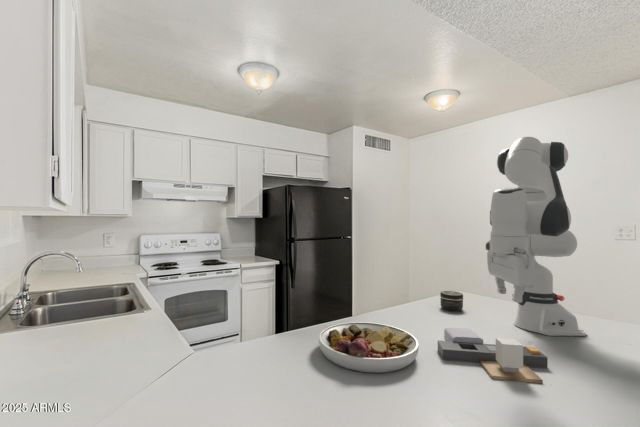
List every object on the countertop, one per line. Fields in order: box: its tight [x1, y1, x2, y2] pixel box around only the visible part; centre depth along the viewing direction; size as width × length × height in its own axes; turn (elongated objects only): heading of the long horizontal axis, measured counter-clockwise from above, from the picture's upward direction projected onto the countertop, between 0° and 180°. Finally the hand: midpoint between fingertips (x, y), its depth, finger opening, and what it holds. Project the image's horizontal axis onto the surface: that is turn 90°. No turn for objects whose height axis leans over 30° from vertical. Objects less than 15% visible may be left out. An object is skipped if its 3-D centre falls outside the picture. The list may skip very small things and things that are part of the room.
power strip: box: [437, 340, 548, 369], centre depth 93 cm, size 28×7×4 cm, turn 81°
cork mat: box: [479, 361, 544, 384], centre depth 84 cm, size 12×9×1 cm
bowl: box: [318, 321, 420, 374], centre depth 95 cm, size 30×30×8 cm
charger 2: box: [495, 337, 524, 373], centre depth 84 cm, size 5×4×8 cm
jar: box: [439, 290, 464, 312], centre depth 147 cm, size 10×10×8 cm
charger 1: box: [443, 327, 484, 344], centre depth 105 cm, size 5×9×15 cm
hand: (509, 297), depth 85 cm, fingers open, 8 cm apart
